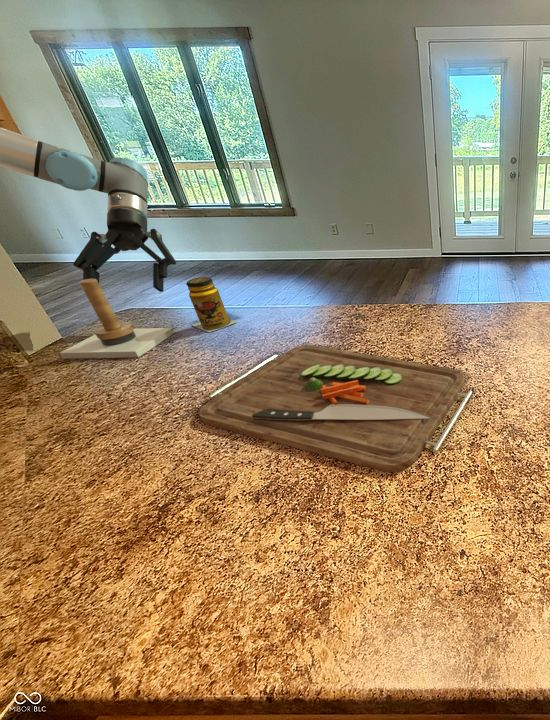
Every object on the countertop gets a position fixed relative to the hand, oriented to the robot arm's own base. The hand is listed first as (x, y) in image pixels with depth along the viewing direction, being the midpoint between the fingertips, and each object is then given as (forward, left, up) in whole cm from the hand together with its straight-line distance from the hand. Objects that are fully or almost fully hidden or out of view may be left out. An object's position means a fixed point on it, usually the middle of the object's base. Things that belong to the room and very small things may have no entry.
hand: (125, 292), depth 92 cm
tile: (+2, -10, -9) cm, 14 cm away
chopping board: (+59, -33, -9) cm, 69 cm away
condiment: (+17, +1, -9) cm, 20 cm away
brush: (+2, -10, -8) cm, 13 cm away
